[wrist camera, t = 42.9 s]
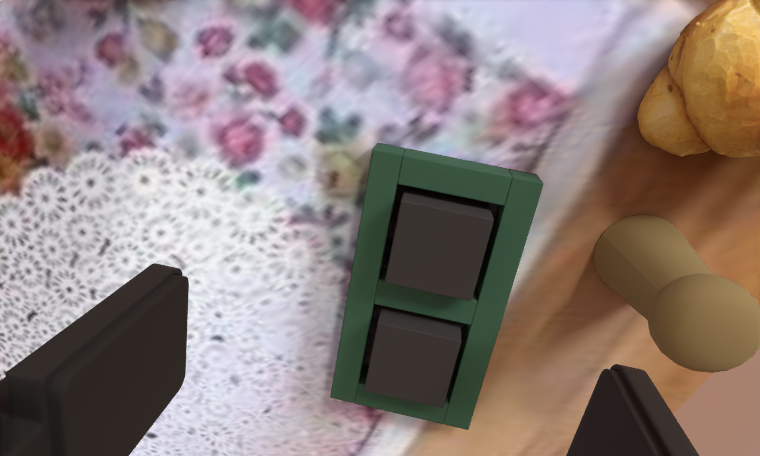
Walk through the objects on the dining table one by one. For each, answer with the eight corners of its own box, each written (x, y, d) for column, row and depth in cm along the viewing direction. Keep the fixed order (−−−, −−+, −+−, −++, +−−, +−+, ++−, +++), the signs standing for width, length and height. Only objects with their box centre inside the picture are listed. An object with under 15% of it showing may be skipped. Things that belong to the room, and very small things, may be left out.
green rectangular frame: (336, 378, 41) (330, 398, 39) (377, 142, 34) (372, 148, 32) (466, 408, 40) (468, 430, 38) (536, 174, 33) (544, 183, 31)
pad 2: (371, 359, 40) (363, 390, 36) (384, 296, 38) (377, 322, 34) (443, 375, 40) (442, 409, 36) (460, 312, 38) (461, 341, 34)
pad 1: (390, 259, 37) (384, 283, 33) (405, 184, 35) (401, 200, 31) (468, 276, 36) (471, 302, 33) (488, 201, 34) (494, 219, 31)
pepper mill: (702, 259, 34) (815, 349, 23) (626, 308, 36) (700, 411, 25) (651, 196, 33) (745, 261, 22) (575, 250, 35) (630, 333, 24)
